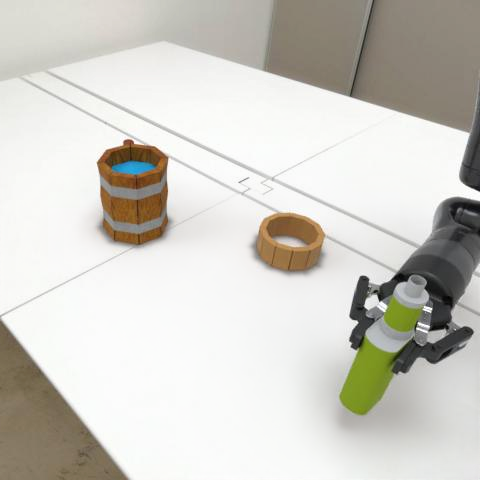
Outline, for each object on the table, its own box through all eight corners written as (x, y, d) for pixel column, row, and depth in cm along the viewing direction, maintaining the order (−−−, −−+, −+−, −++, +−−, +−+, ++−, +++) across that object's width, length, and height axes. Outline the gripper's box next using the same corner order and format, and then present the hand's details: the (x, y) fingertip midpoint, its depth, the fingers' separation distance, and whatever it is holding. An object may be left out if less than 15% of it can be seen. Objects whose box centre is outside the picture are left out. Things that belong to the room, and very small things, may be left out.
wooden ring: (324, 241, 90) (329, 222, 87) (311, 278, 82) (317, 258, 79) (266, 226, 94) (270, 206, 91) (249, 259, 86) (252, 239, 83)
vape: (386, 393, 59) (445, 281, 46) (360, 420, 56) (415, 308, 43) (361, 374, 61) (410, 262, 49) (334, 399, 58) (379, 287, 46)
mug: (173, 241, 90) (174, 175, 80) (104, 247, 89) (97, 181, 79) (159, 188, 105) (159, 127, 96) (100, 193, 104) (94, 132, 94)
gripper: (387, 232, 61) (323, 300, 52) (507, 284, 53) (458, 374, 44) (371, 273, 66) (310, 342, 56) (480, 326, 58) (430, 416, 49)
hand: (375, 356), depth 50 cm, fingers closed on vape, 4 cm apart
